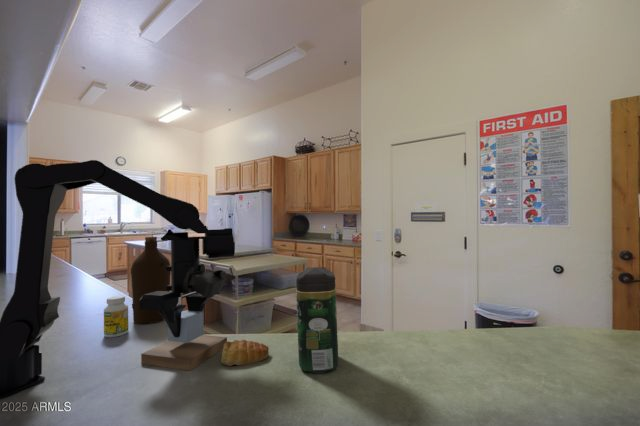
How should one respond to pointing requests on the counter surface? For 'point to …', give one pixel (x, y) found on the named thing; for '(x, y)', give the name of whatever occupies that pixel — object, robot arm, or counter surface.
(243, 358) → the pastry
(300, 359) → the coffee jar
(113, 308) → the supplement bottle
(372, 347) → the counter surface
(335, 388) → the counter surface
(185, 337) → the block
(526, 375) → the counter surface
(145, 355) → the base slab
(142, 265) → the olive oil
